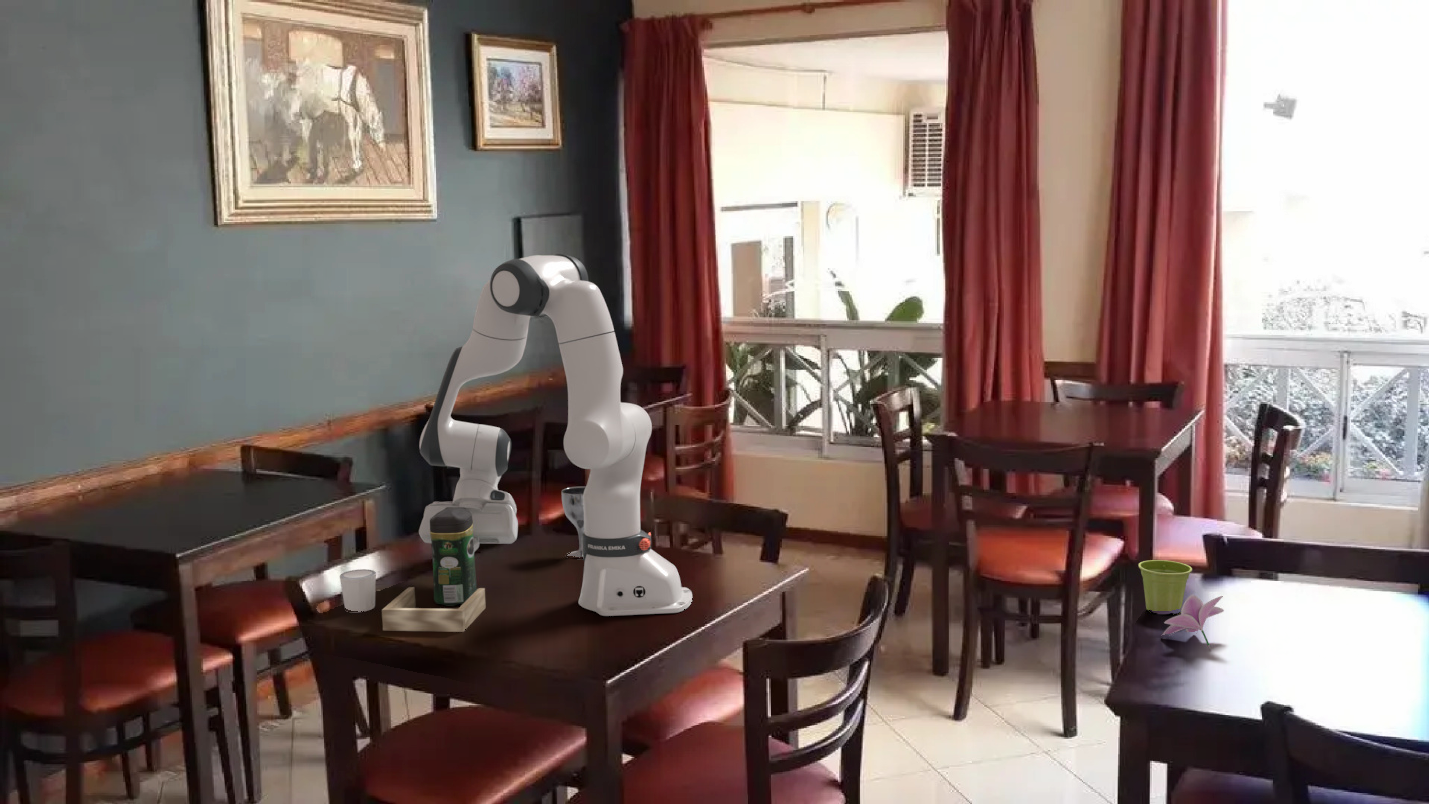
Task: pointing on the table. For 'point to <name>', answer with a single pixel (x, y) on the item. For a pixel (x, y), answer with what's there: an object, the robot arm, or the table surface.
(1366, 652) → the table surface
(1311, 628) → the table surface
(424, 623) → the bay
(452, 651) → the table surface
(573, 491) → the wine glass
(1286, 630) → the table surface
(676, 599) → the robot arm
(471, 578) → the coffee jar
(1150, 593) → the plant pot
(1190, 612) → the lily
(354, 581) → the white cup
